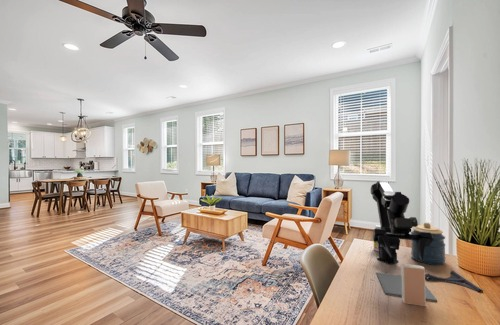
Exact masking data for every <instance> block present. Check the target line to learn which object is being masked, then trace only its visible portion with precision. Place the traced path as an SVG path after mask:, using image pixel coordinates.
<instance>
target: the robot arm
mask: <svg viewBox="0 0 500 325" xmlns="http://www.w3.org/2000/svg"><path fill="white" fill-rule="evenodd" d="M370 194H371V195H372V199H373V200H374V201H375V202H376V206H377V210H378V211H377V212H378V220H379V225H380V226H381V229H379V228H376V227H375V228H374V229H373V232H372V240H373V242H374V241H376V245H377V247H378V248H379V251H378V257H376V260H378V261H380V262H382V263H386V264H388V265H392V264H393V265H394V264H396V263H399V260H398V253H397V251H399V250H400V246H401V245H400V244H401V240H404V241H405V240H408V241H411V240H416V243H417V250H418V253H419V257H420V259H421V261H423V256H424V248H425V247H427V246H429V245H430V244H431V243H432V241H433V239H434V238H433V235H432V234H431V233H430V232H422V231H418V233H417V235H412V234H411V232H412V229H413V227H416V226H418V225H419V222H418V219H417V217H415V216H414V217H413V216H410V217H409V218H408V217H406V216H405V213H406V212H407V210H408V206H409V203H410V198H409V197H408V196H407V195H405V194H403V193H402V192H401V191H394V190H393V188H392V187H391V185H390V182H389V181H387V180H377V181H376V182H375V183H373V184H372V185H371V187H370Z"/></svg>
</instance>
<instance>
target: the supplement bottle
mask: <svg viewBox="0 0 500 325" xmlns="http://www.w3.org/2000/svg"><path fill="white" fill-rule="evenodd" d="M375 228H379V229H381V226H380V224H375ZM373 250H374V251H376V252H379V248H378V247H377V245H376V241H373Z"/></svg>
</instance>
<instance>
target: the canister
mask: <svg viewBox="0 0 500 325" xmlns="http://www.w3.org/2000/svg"><path fill="white" fill-rule="evenodd" d="M412 229H413V230H411V232H410V234H411V235H417V233H418V231H422V232H430V233H431V234H432V235H433V238H434V239H433V241H432V243H431V244H430V245H429V246H427V247H425V248H424V256H423V261H421V259H420V257H419V253H418V250H417V243H416V240H410V242H411V251H410V252H411V257H412V259H413V260H415V261H417V262H419V263H422V264H427V265H432V266H433V265H435V266H441V265H445V264H446V258H447V257H446V243H445V240H446V236H444V235H443V231H442V230H441V229H440V228H439V227H435V226H433V225H431V224H430V222H426V221H425V222H424V223H423V224H418V226H416V227H413V228H412Z"/></svg>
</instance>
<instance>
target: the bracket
mask: <svg viewBox="0 0 500 325" xmlns="http://www.w3.org/2000/svg"><path fill="white" fill-rule="evenodd" d="M449 274H450V276H448V277H442V276H436V275H434V274H430V273H425V281H436V282H447V283H451V284H455V285H459V286H462V287H465V288H467V289H470V290H472V291H474V292H477V293H479V292H481V293H484V290H483V289H482V288H480V287H479V286H478V285H475V284H474V283H473V282H471V281H469V280H468V279H466V278H465V277H464V276H462V275H460V274H458V273H457V272H456V271H453V270H451V271H450V273H449Z"/></svg>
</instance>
